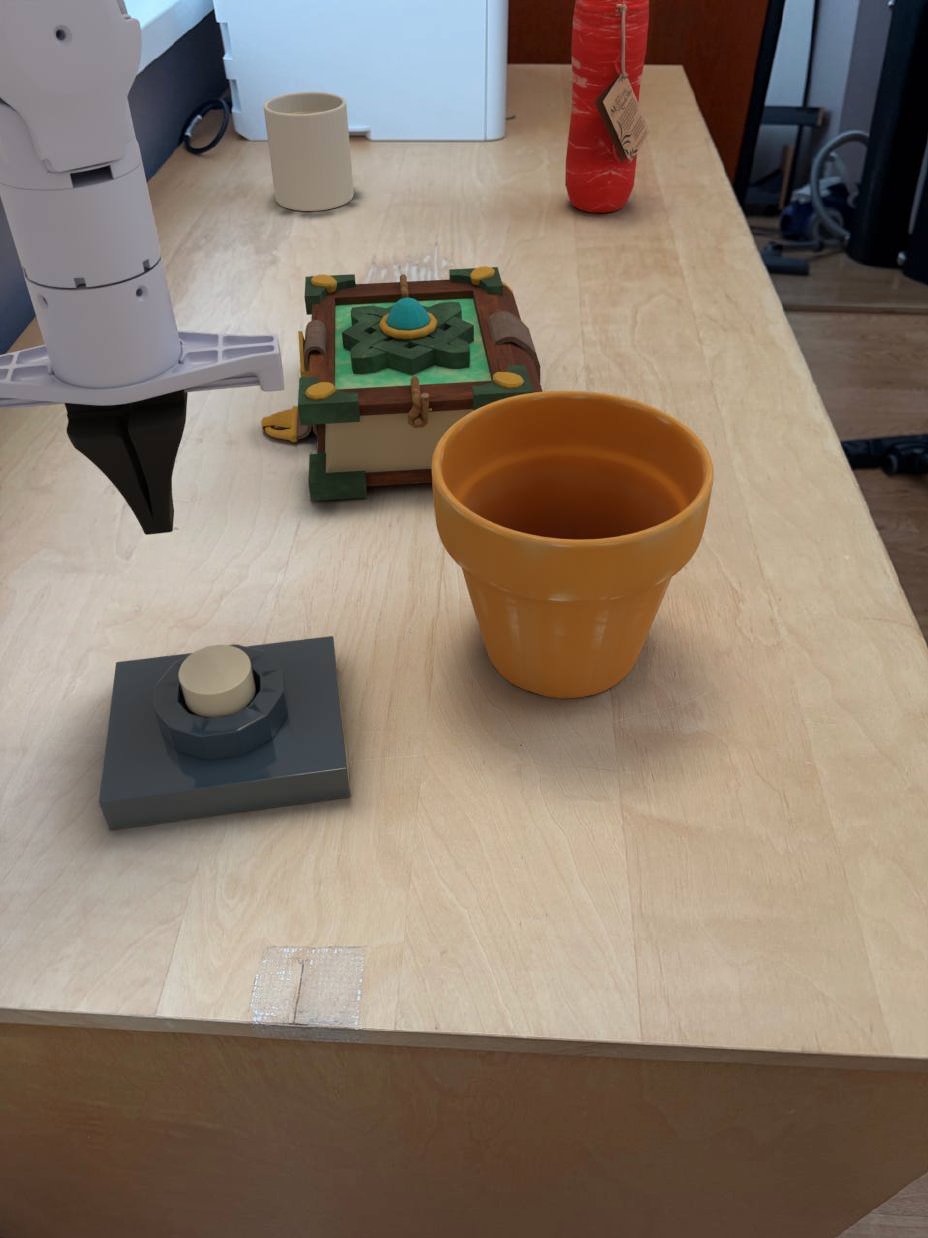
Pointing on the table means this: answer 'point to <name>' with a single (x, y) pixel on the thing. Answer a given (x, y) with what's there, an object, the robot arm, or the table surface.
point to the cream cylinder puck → (217, 681)
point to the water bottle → (606, 102)
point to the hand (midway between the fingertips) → (159, 522)
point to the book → (400, 373)
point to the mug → (309, 150)
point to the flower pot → (569, 529)
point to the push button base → (224, 739)
